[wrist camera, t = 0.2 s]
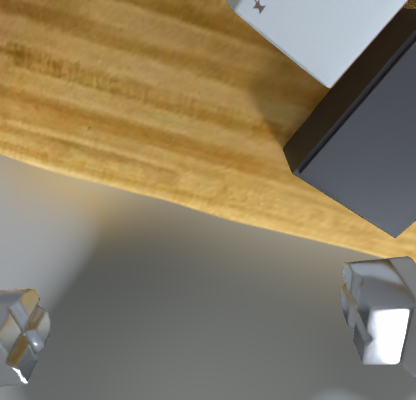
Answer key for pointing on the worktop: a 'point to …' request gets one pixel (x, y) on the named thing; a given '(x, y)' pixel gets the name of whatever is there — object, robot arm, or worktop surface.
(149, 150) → the worktop surface
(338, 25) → the small box
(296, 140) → the dark gray box
